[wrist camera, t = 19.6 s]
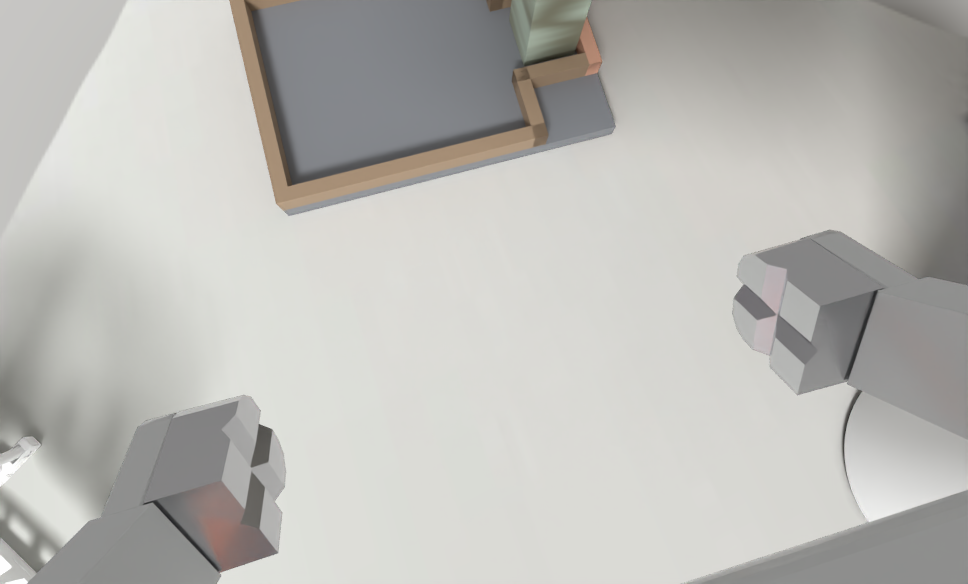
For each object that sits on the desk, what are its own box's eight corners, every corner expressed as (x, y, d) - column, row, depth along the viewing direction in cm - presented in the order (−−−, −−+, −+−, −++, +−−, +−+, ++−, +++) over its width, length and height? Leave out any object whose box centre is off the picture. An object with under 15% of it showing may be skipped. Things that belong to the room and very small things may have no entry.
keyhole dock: (547, -55, 44) (552, -83, 41) (611, 133, 41) (621, 116, 39) (241, 13, 42) (226, -12, 39) (288, 215, 39) (276, 203, 37)
